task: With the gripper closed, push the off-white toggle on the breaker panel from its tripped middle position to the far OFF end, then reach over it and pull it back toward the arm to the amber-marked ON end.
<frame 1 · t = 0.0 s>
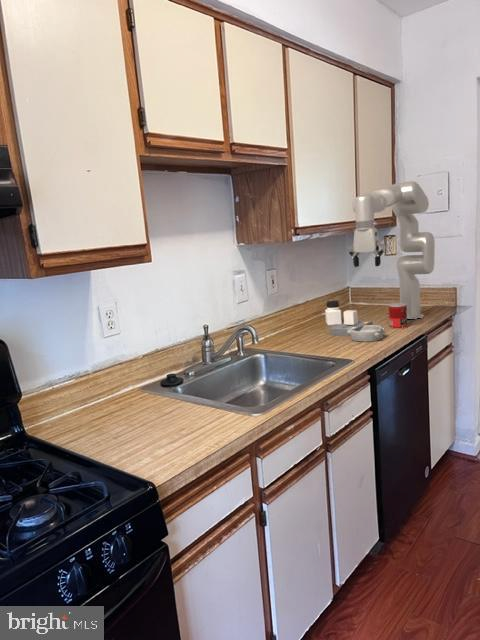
hand: (367, 266, 202), 31 cm above the worktop, tool pointing down, fingers open, 9 cm apart
breaker panel: (351, 330, 223), on the worktop
medicine bottle: (333, 324, 244), on the worktop
canned food: (398, 327, 222), on the worktop
dish: (367, 339, 206), on the worktop
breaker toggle: (350, 317, 222), point 7 cm above the worktop, slide at 6.0 cm
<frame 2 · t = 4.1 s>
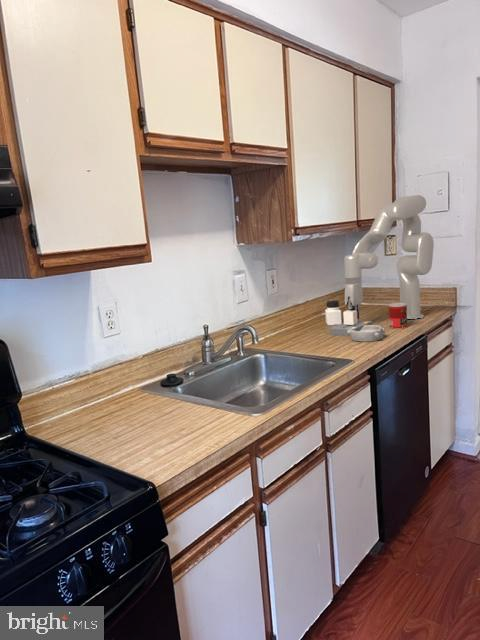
hand: (355, 319, 226), 5 cm above the worktop, tool pointing down, fingers closed
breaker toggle: (350, 317, 222), point 6 cm above the worktop, slide at 6.2 cm, touching gripper
everything else where it was.
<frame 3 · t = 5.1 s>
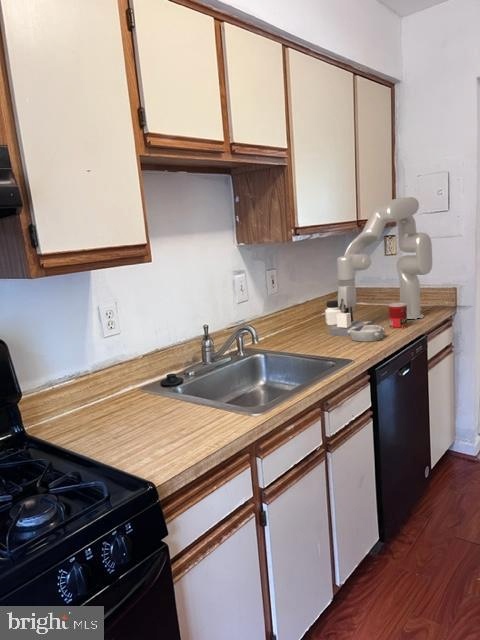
hand: (349, 321, 221), 5 cm above the worktop, tool pointing down, fingers closed
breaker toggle: (343, 320, 218), point 6 cm above the worktop, slide at 12.4 cm, touching gripper
everything else where it was.
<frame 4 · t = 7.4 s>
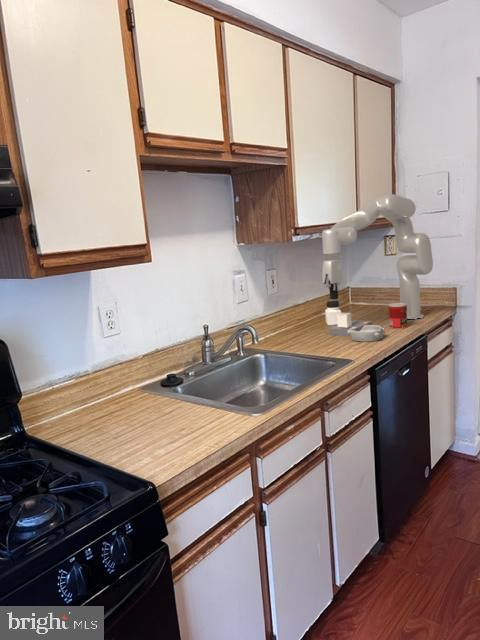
hand: (334, 298, 210), 18 cm above the worktop, tool pointing down, fingers closed
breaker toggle: (344, 320, 218), point 6 cm above the worktop, slide at 12.0 cm
everything else where it was.
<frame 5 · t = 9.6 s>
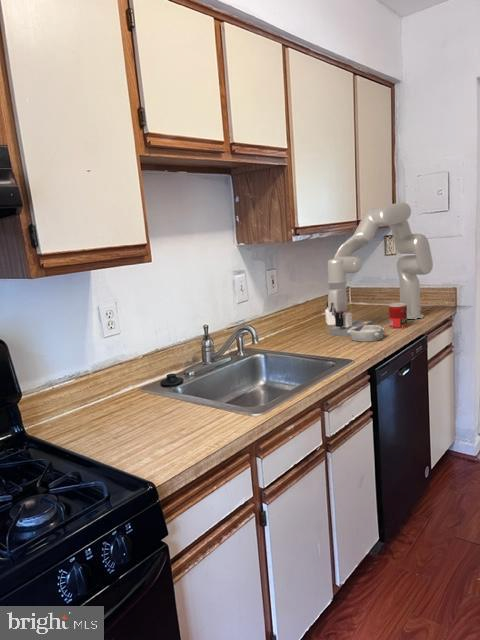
hand: (339, 326, 215), 4 cm above the worktop, tool pointing down, fingers closed
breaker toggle: (344, 319, 218), point 7 cm above the worktop, slide at 11.6 cm, touching gripper
everything else where it was.
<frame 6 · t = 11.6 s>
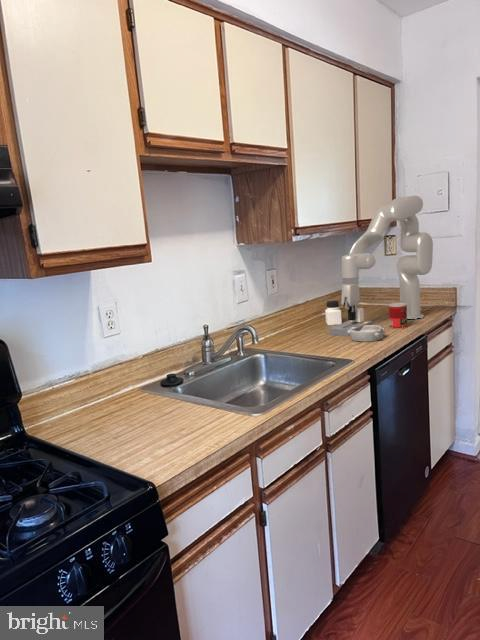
hand: (351, 320, 224), 5 cm above the worktop, tool pointing down, fingers closed
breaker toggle: (356, 315, 227), point 7 cm above the worktop, slide at -0.2 cm, touching gripper
everything else where it was.
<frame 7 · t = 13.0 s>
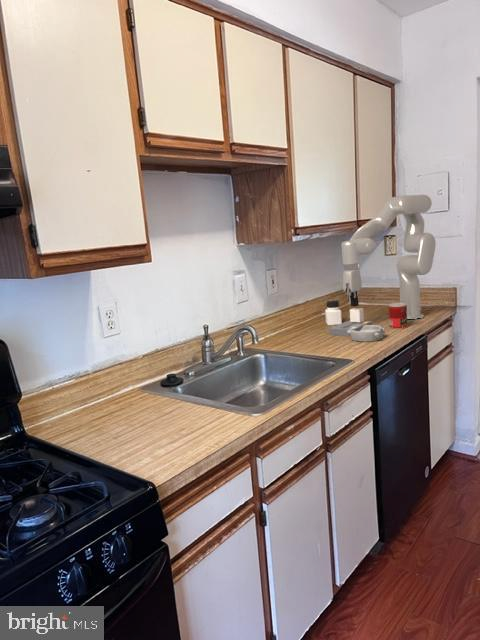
hand: (354, 305, 224), 11 cm above the worktop, tool pointing down, fingers closed
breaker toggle: (356, 315, 227), point 7 cm above the worktop, slide at 0.0 cm
everything else where it was.
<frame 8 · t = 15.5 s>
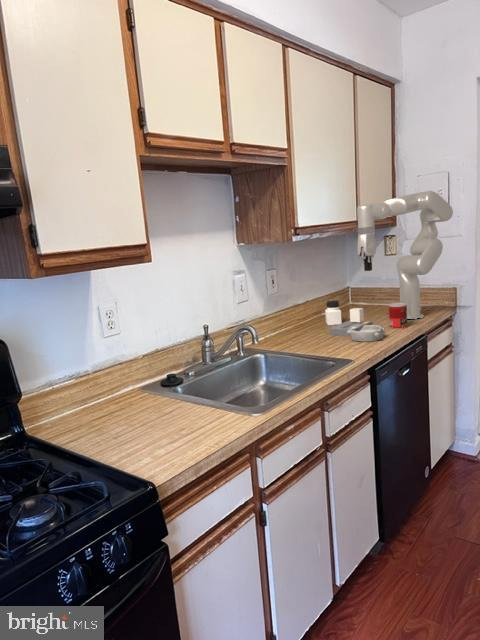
hand: (368, 270, 225), 27 cm above the worktop, tool pointing down, fingers closed
nothing on the worktop moved.
at the end: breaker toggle slide at 0.0 cm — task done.
